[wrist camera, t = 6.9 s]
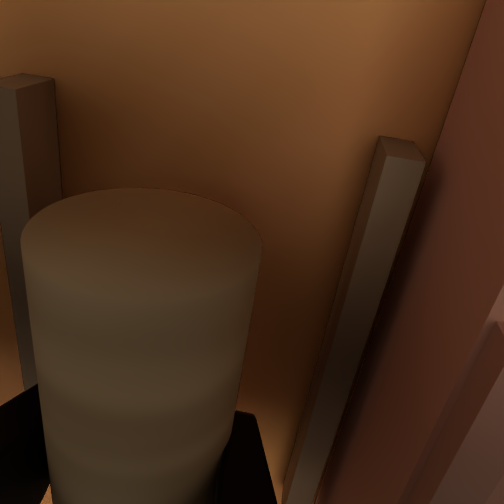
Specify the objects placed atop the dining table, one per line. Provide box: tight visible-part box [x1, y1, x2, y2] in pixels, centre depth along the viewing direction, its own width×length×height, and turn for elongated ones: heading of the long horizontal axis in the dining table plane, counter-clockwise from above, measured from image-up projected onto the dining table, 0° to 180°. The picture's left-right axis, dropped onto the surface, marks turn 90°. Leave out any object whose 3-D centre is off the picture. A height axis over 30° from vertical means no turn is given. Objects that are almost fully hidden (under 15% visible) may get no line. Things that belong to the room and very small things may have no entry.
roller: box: [20, 188, 263, 504], centre depth 8 cm, size 8×3×3 cm, turn 172°
